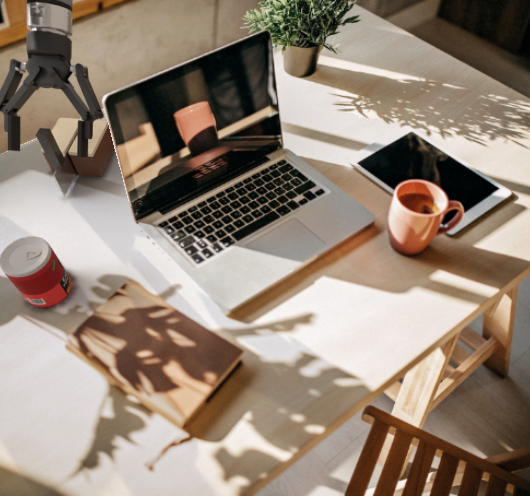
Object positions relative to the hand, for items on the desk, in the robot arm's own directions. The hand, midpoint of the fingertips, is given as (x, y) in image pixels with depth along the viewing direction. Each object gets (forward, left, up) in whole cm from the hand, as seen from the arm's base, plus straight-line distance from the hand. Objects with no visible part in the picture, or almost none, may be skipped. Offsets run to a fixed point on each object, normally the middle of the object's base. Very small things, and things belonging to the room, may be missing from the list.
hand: (48, 154), depth 92 cm
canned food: (+16, -17, -11) cm, 26 cm away
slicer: (0, +1, -10) cm, 10 cm away
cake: (-5, +9, -11) cm, 15 cm away
